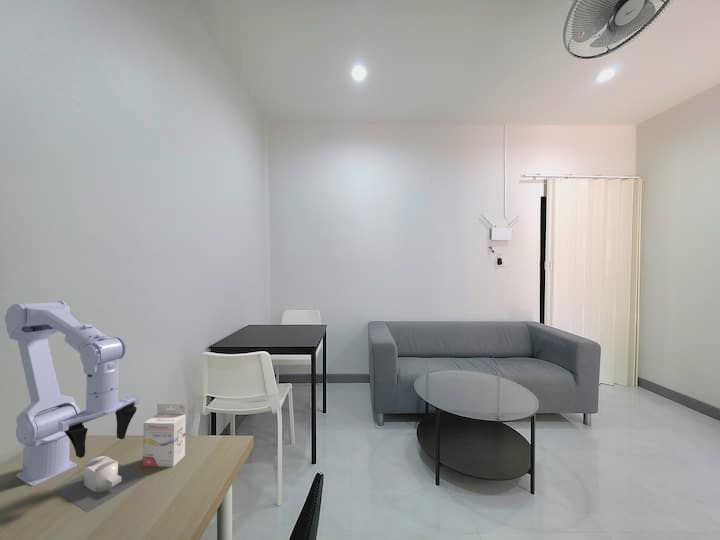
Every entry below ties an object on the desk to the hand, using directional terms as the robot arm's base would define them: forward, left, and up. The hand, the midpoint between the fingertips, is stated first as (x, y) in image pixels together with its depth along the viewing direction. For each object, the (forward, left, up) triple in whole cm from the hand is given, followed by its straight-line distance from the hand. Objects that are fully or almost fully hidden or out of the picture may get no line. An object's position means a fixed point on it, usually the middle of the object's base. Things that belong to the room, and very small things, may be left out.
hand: (101, 446), depth 65 cm
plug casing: (+1, 0, -9) cm, 9 cm away
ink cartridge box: (+6, +11, -9) cm, 16 cm away
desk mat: (0, 0, -9) cm, 9 cm away
